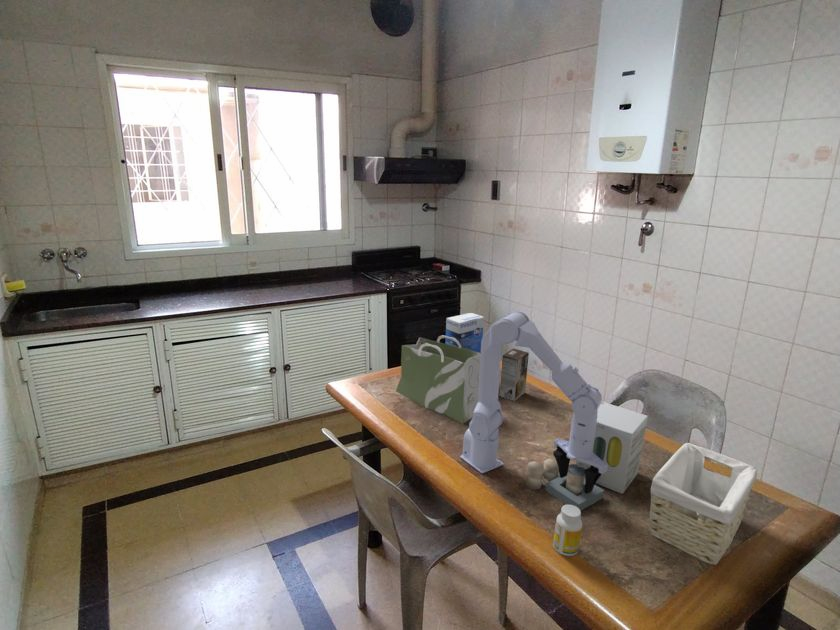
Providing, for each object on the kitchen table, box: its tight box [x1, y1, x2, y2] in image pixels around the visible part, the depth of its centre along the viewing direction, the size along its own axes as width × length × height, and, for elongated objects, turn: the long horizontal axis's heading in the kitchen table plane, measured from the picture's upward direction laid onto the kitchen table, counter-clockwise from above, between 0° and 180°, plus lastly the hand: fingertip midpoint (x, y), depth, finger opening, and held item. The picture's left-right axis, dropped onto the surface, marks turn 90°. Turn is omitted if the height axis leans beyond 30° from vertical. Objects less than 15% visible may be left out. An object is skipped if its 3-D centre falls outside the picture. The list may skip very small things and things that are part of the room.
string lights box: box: [444, 312, 485, 353], centre depth 187 cm, size 13×8×26 cm, turn 130°
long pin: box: [565, 463, 585, 496], centre depth 124 cm, size 4×4×8 cm
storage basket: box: [648, 442, 758, 566], centre depth 113 cm, size 24×16×15 cm
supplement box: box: [575, 401, 649, 495], centre depth 132 cm, size 13×13×18 cm
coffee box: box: [498, 348, 529, 402], centre depth 178 cm, size 9×6×16 cm
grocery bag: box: [395, 334, 481, 425], centre depth 170 cm, size 32×14×23 cm, turn 46°
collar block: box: [545, 473, 605, 511], centre depth 125 cm, size 10×10×2 cm
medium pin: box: [525, 460, 544, 490], centre depth 128 cm, size 4×4×6 cm
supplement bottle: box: [552, 504, 583, 557], centre depth 106 cm, size 5×5×10 cm
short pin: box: [543, 458, 559, 482], centre depth 132 cm, size 4×4×4 cm
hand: (575, 483), depth 124 cm, fingers open, 7 cm apart
